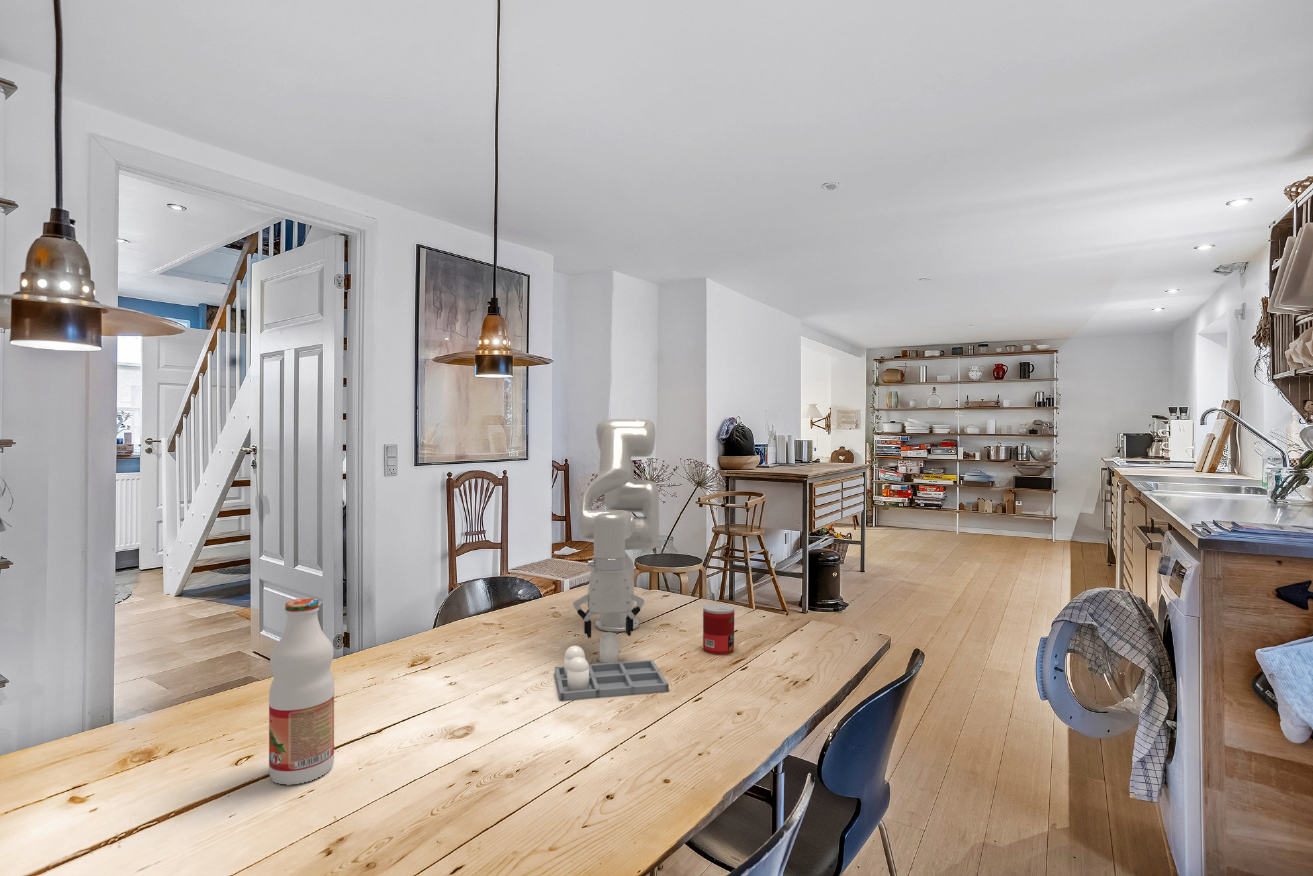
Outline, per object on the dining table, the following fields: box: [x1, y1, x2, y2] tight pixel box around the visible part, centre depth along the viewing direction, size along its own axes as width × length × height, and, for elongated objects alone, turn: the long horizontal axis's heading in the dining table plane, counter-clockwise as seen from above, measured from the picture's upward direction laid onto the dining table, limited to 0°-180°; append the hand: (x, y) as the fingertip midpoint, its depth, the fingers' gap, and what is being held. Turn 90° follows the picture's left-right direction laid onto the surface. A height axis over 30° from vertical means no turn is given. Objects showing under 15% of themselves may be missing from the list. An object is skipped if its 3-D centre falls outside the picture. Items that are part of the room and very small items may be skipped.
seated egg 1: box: [563, 645, 586, 678], centre depth 147 cm, size 5×5×7 cm
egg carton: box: [554, 659, 670, 702], centre depth 145 cm, size 16×23×2 cm
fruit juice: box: [268, 597, 335, 786], centre depth 107 cm, size 9×9×28 cm
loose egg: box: [598, 631, 619, 664], centre depth 159 cm, size 5×5×7 cm
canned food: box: [702, 603, 735, 655], centre depth 168 cm, size 8×8×11 cm
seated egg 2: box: [567, 657, 590, 691], centre depth 140 cm, size 5×5×7 cm
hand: (608, 635), depth 158 cm, fingers open, 9 cm apart
